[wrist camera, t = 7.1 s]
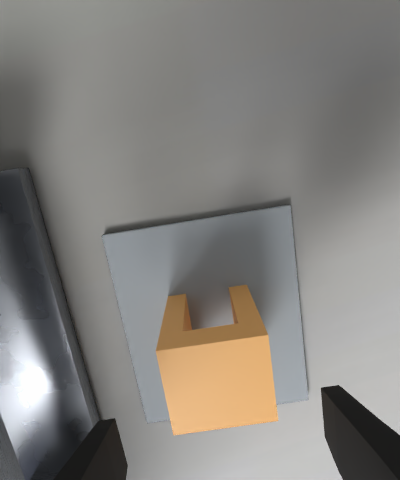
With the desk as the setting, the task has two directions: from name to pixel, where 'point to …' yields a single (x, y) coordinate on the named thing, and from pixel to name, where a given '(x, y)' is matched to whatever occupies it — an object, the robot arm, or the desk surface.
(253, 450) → the desk surface
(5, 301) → the rail stand
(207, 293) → the mat
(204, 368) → the clip
